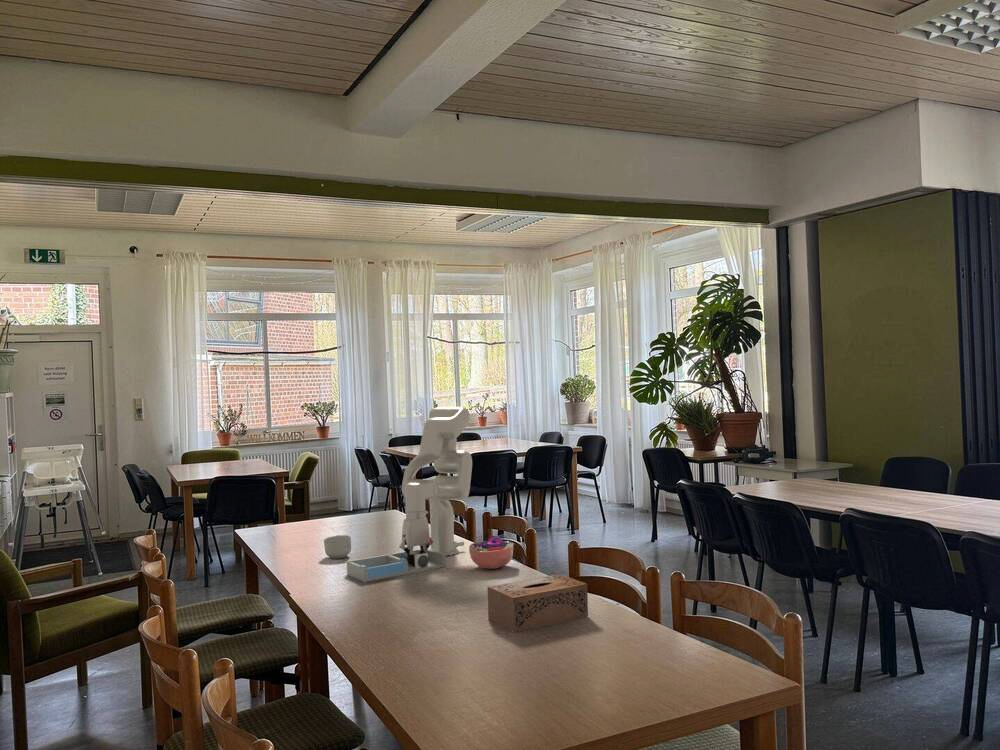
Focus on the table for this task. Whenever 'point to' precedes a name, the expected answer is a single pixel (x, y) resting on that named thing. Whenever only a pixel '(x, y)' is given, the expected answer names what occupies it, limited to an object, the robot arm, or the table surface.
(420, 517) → the robot arm
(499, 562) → the cell model
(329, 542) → the teacup
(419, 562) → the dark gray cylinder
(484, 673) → the table surface
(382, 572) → the divided grey tray
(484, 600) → the table surface
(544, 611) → the tissue box cover
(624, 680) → the table surface
